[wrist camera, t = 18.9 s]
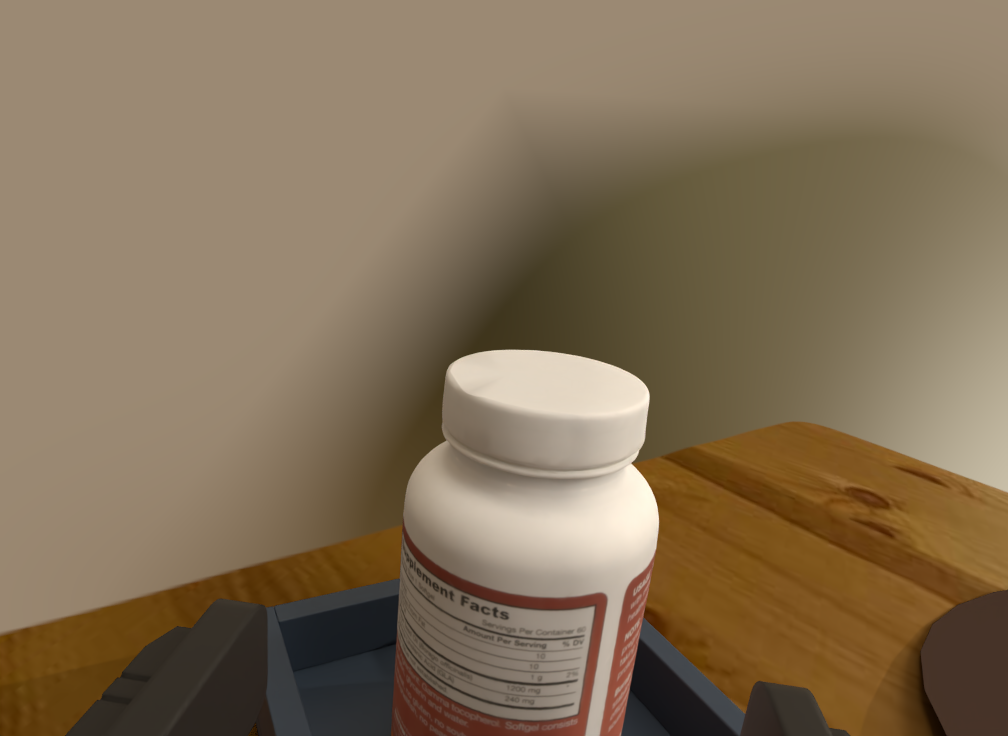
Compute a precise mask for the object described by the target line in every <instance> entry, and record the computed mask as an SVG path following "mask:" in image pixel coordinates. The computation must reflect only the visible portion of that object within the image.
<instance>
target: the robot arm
mask: <svg viewBox="0 0 1008 736" xmlns="http://www.w3.org/2000/svg"><path fill="white" fill-rule="evenodd" d="M267 682H268V616H267V609H266V607H265V606H264V605H260V604H253V603H247V602H240V601H233V600H227V599H218V600H216V601H215V602H214V603H213V604H212V605H211V606H210V607H209V608H208V609H207V611H206V612H205V613H204V614H203V615H202V617H201V618H200V619H199V620H198V621H197V623H196V624H195V625H194V626H193V627H192V628H186V627H179V626H177V627H175V628H174V629H172V630H171V631H169V632H167V633H166V634H164V635H163V636H161V637H159V638H158V639H156V640H155V641H153V642H152V643H150V644H148V645H147V646H145V647H144V648H143V650H142V651H141V652H140V653H139V654H138V655H137V656H136V657H135V658H134V660H133V661H132V662H131V663H130V664H129V665H128V666H127V667H126V669H125V670H124V671H123V672H122V675H121V677H120V678H117V679H116V680H115V681H114V682H113V683H112V684H111V685H110V686H109V687H108V689H107V690H106V691H105V692H104V693H103V694H102V698H101V700H97V701H96V702H95V703H94V704H93V705H92V706H91V707H90V709H89V710H88V711H87V712H86V713H85V714H84V715H83V716H82V717H81V719H80V720H79V721H78V722H77V723H76V724H75V725H74V726H73V727H72V729H71V730H70V731H69V732H68V733H67V734H66V735H65V736H248V735H249V733H250V731H251V729H252V728H253V726H254V724H255V722H256V720H257V718H258V716H259V714H260V711H261V708H262V705H263V702H264V699H265V694H266V689H267ZM740 736H850V735H849V734H848V733H847V732H846V731H845V730H839V729H832V728H829V727H828V725H827V723H826V721H825V719H824V716H823V714H822V712H821V710H820V708H819V706H818V704H817V702H816V700H815V698H814V696H813V694H812V693H811V692H810V691H809V690H808V689H806V688H801V687H795V686H788V685H781V684H775V683H768V682H761V681H758V682H756V683H755V685H754V686H753V689H752V692H751V695H750V699H749V703H748V707H747V711H746V714H745V718H744V722H743V726H742V729H741V733H740Z"/></svg>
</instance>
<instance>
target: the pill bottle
mask: <svg viewBox="0 0 1008 736" xmlns="http://www.w3.org/2000/svg"><path fill="white" fill-rule="evenodd" d="M648 406H649V392H648V389H647V387H646V386H645V384H644V383H643V382H642V381H641V380H639V379H638V378H637V377H635V376H634V375H632V374H630V373H629V372H627V371H624V370H622V369H620V368H618V367H615V366H612V365H609V364H606V363H603V362H600V361H597V360H592V359H588V358H584V357H580V356H574V355H568V354H562V353H555V352H545V351H535V350H495V351H487V352H480V353H476V354H472V355H468V356H465V357H463V358H460V359H458V360H457V361H455V362H454V363H452V364H451V365H450V366H449V368H448V370H447V372H446V379H445V388H444V396H443V410H442V420H443V424H442V431H443V434H444V436H445V438H446V440H447V441H445V442H444V443H442V444H440V445H438V446H437V447H436V448H434V449H433V450H432V451H430V452H429V453H428V454H427V455H426V456H425V457H424V458H423V459H422V460H421V461H420V463H419V464H418V465H417V467H416V469H415V470H414V472H413V474H412V475H411V478H410V480H409V483H408V486H407V491H406V496H405V504H404V514H403V530H402V551H401V569H400V588H399V606H398V622H397V642H396V658H395V675H394V692H393V707H392V727H391V736H621V733H622V727H623V722H624V717H625V711H626V706H627V700H628V695H629V690H630V684H631V679H632V673H633V668H634V663H635V657H636V652H637V647H638V641H639V636H640V631H641V626H642V620H643V615H644V610H645V605H646V600H647V596H648V591H649V584H650V579H651V574H652V569H653V563H654V558H655V553H656V546H657V536H658V527H659V517H658V508H657V504H656V501H655V498H654V495H653V493H652V491H651V489H650V487H649V485H648V483H647V482H646V480H645V479H644V477H643V476H642V475H641V474H640V473H639V471H638V470H637V469H636V468H635V467H634V466H633V465H632V464H631V463H632V461H634V460H635V459H636V457H637V455H638V452H639V449H640V448H641V447H642V445H643V443H644V440H645V429H646V420H647V413H648Z"/></svg>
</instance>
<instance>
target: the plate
mask: <svg viewBox="0 0 1008 736" xmlns="http://www.w3.org/2000/svg"><path fill="white" fill-rule="evenodd" d="M921 661H922V670H923V679H924V689H925V692H926V694H927V696H928V698H929V700H930V702H931V704H932V706H933V708H934V710H935V712H936V714H937V716H938V718H939V720H940V723H941V725H942V727H943V729H944V731H945V733H946V735H947V736H1008V590H1005V591H998V592H993V593H990V594H987V595H985V596H982V597H979V598H976V599H973V600H971V601H968V602H965V603H962V604H959V605H957V606H956V607H955V608H953V609H952V610H951V611H949V612H948V613H947V614H945V615H944V616H943V617H942V618H940V619H939V620H938V621H936V622H935V623H934V624H933V625H932V627H931V629H930V631H929V634H928V636H927V638H926V640H925V643H924V645H923V647H922V649H921Z"/></svg>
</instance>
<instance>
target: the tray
mask: <svg viewBox="0 0 1008 736" xmlns="http://www.w3.org/2000/svg"><path fill="white" fill-rule="evenodd" d="M399 588H400V579H395V580H391V581H386V582H381V583H377V584H372V585H368V586H363V587H359V588H354V589H350V590H345V591H341V592H336V593H331V594H327V595H322V596H318V597H313V598H309V599H304V600H300V601H295V602H291V603H286V604H281V605H277V606H274V607H267V608H266V609H267V616H268V682H267V689H266V694H265V699H264V702H263V705H262V708H261V711H260V714H259V716H258V718H257V720H256V726H257V731H258V735H259V736H391V727H392V707H393V692H394V675H395V658H396V642H397V622H398V606H399ZM744 718H745V714H744V713H743V712H742V711H741V710H740V709H739V708H738V707H737V706H736V705H735V704H734V703H733V702H732V701H731V700H730V699H729V698H727V697H726V696H725V695H724V694H723V693H722V692H721V691H720V690H719V689H718V688H717V687H716V686H715V685H714V684H713V683H712V682H711V681H710V680H708V679H707V678H706V677H705V676H704V675H703V674H702V673H701V672H700V671H699V670H698V669H697V668H696V667H695V666H694V665H693V664H692V663H691V662H689V661H688V660H687V659H686V658H685V657H684V656H683V655H682V654H681V653H680V652H679V651H678V650H677V649H676V648H675V647H674V646H673V645H672V644H670V643H669V642H668V641H667V640H666V639H665V638H664V637H663V636H662V635H661V634H660V633H659V632H658V631H657V630H656V629H655V628H654V627H653V626H651V625H650V624H649V623H648V622H647V621H646V620H645V619H644V618H643V620H642V626H641V631H640V636H639V641H638V647H637V652H636V657H635V663H634V668H633V673H632V679H631V684H630V690H629V695H628V700H627V706H626V711H625V717H624V722H623V727H622V733H621V736H740V733H741V729H742V726H743V722H744Z"/></svg>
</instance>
